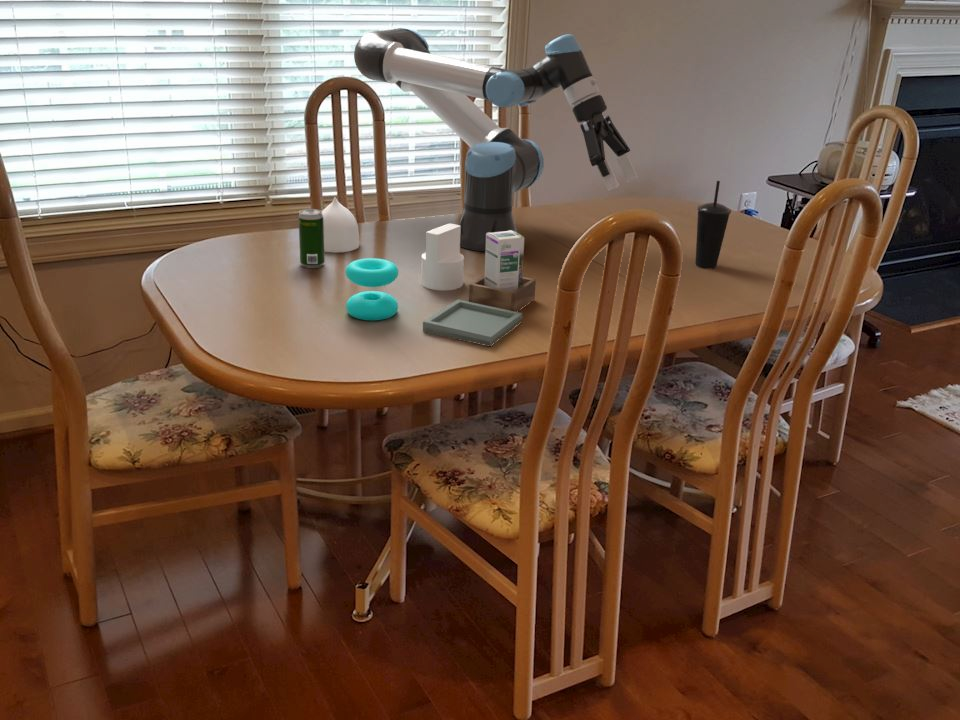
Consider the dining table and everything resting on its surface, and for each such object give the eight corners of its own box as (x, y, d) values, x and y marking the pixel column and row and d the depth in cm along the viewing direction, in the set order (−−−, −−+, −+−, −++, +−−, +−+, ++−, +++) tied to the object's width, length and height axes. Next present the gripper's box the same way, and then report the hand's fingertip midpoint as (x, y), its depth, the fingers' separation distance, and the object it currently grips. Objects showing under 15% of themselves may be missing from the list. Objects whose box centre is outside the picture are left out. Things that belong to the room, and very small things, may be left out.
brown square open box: (468, 305, 187) (469, 284, 185) (490, 291, 195) (491, 270, 193) (514, 315, 183) (515, 293, 181) (534, 300, 191) (535, 279, 189)
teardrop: (346, 255, 214) (346, 204, 209) (303, 248, 217) (302, 198, 212) (367, 242, 223) (366, 193, 219) (325, 236, 227) (324, 188, 222)
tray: (422, 331, 173) (423, 321, 172) (457, 308, 185) (457, 299, 184) (490, 347, 168) (490, 336, 167) (521, 322, 179) (522, 313, 179)
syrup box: (496, 309, 185) (500, 239, 180) (482, 299, 190) (485, 231, 184) (521, 305, 188) (525, 236, 182) (507, 296, 193) (511, 228, 187)
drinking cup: (723, 272, 214) (736, 186, 206) (689, 268, 215) (701, 183, 207) (722, 262, 221) (734, 178, 213) (689, 259, 222) (700, 176, 214)
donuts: (363, 253, 183) (407, 261, 179) (363, 301, 187) (407, 310, 183) (335, 266, 174) (381, 276, 171) (336, 316, 178) (381, 326, 175)
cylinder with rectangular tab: (447, 293, 193) (449, 237, 188) (412, 284, 197) (413, 229, 192) (471, 282, 200) (473, 228, 195) (436, 273, 204) (438, 220, 199)
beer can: (326, 267, 205) (325, 214, 200) (302, 269, 203) (300, 215, 198) (322, 260, 209) (320, 208, 204) (298, 261, 208) (296, 209, 203)
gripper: (579, 96, 204) (619, 185, 206) (617, 90, 225) (653, 170, 227) (551, 112, 208) (591, 199, 210) (591, 104, 229) (627, 183, 231)
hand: (623, 184), depth 218 cm, fingers open, 13 cm apart
